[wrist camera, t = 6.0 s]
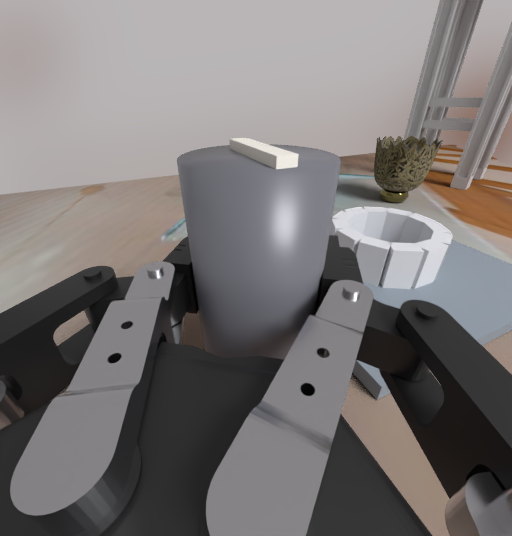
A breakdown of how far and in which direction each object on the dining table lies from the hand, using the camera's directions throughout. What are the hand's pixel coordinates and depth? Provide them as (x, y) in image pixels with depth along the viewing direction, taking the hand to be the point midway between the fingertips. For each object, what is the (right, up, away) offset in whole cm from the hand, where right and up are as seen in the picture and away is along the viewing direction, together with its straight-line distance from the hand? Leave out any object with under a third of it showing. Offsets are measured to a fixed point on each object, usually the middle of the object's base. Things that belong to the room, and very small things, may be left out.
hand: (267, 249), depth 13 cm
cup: (+19, +9, +27) cm, 34 cm away
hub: (+10, -1, +11) cm, 15 cm away
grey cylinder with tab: (0, -7, +1) cm, 7 cm away
